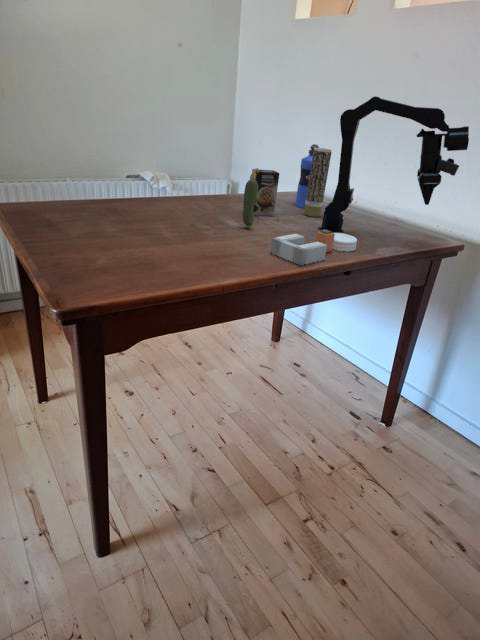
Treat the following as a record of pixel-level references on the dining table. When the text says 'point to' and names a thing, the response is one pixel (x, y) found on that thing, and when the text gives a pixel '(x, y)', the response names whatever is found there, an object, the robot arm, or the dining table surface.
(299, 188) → the water bottle
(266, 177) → the coffee box
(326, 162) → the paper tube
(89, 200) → the dining table surface
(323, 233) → the orange cylinder
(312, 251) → the housing
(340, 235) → the white round dish
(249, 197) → the vegetable
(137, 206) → the dining table surface
